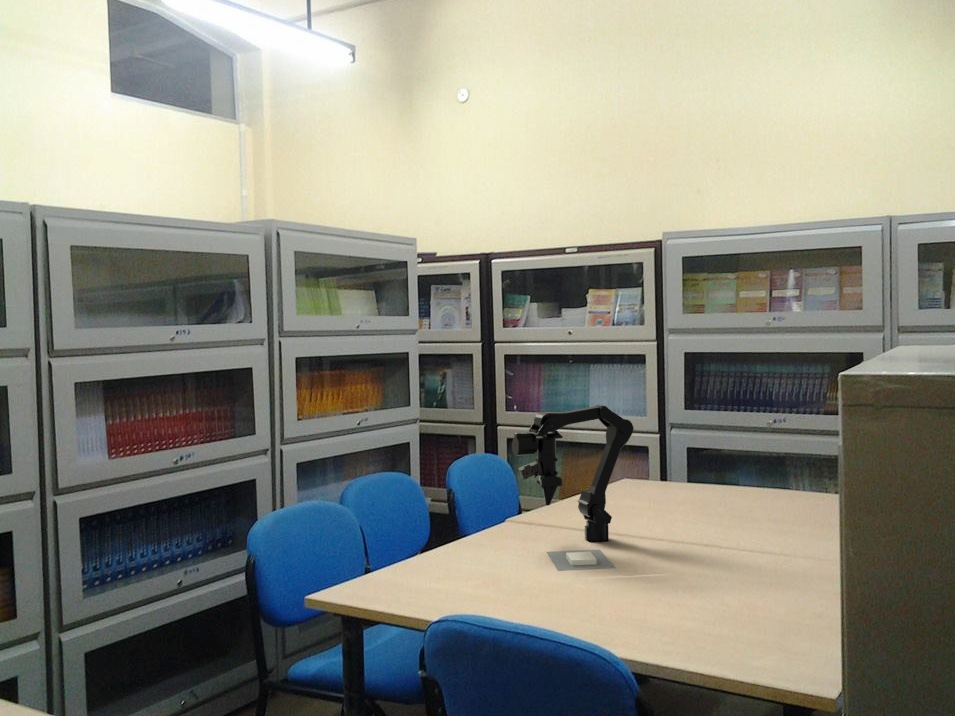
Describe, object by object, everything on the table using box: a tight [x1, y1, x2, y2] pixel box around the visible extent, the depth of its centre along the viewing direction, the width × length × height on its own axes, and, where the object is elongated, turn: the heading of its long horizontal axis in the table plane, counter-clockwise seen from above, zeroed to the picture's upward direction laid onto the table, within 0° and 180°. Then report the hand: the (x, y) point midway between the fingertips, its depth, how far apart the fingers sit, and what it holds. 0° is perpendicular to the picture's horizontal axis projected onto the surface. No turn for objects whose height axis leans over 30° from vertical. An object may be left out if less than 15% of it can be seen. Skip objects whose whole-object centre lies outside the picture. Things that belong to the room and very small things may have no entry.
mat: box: [545, 549, 617, 572], centre depth 244 cm, size 16×20×1 cm
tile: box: [566, 552, 597, 566], centre depth 242 cm, size 7×2×8 cm
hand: (547, 505), depth 261 cm, fingers closed
